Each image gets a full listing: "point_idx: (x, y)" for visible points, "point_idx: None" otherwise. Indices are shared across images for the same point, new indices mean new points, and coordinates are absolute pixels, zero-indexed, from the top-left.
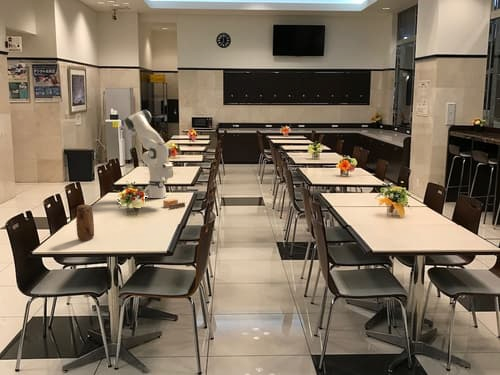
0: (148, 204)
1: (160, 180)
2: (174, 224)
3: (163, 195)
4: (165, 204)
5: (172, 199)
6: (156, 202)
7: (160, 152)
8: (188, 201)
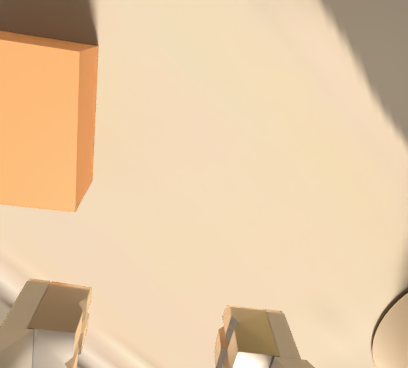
0: (347, 50)
1: (277, 345)
2: None
3: (391, 357)
4: (47, 41)
5: (32, 174)
6: (328, 178)
7: None
8: (88, 353)
